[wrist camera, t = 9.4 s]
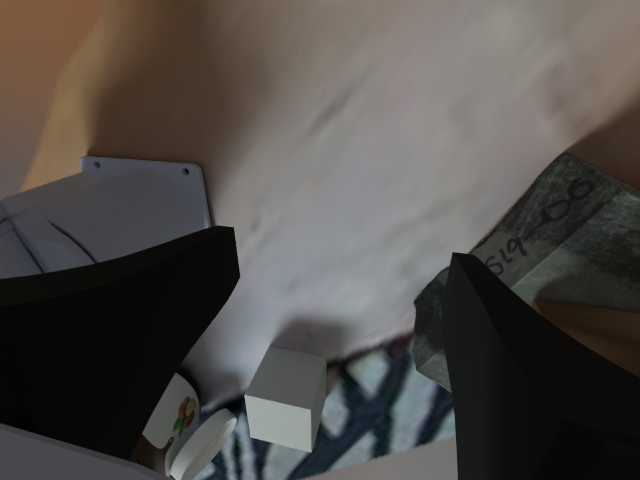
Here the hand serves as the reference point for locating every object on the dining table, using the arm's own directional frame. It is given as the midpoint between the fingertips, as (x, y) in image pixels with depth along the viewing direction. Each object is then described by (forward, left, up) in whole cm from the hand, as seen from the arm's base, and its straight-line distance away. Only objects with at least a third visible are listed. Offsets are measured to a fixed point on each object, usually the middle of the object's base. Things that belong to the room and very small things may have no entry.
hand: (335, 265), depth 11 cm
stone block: (+10, -6, -11) cm, 16 cm away
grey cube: (-5, -18, -10) cm, 21 cm away
